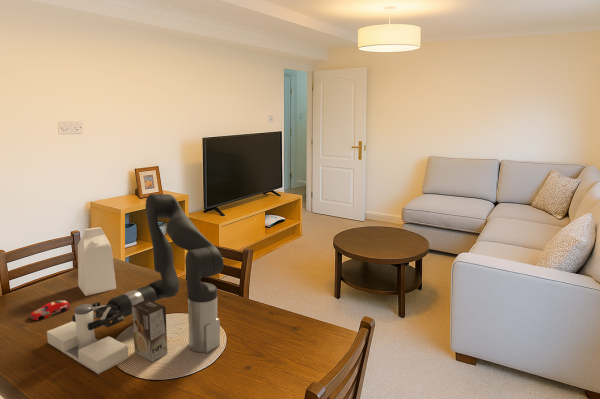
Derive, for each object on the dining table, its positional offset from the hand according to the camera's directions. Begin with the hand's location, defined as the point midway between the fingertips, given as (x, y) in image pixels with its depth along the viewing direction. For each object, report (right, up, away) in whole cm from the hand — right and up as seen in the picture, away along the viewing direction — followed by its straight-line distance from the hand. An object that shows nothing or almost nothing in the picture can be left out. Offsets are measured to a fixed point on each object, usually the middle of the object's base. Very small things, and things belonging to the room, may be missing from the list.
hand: (80, 323), depth 132 cm
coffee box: (+21, -10, +3) cm, 23 cm away
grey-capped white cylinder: (0, -9, +3) cm, 9 cm away
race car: (-24, -4, +26) cm, 36 cm away
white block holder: (0, -10, +3) cm, 10 cm away
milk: (-18, +1, +49) cm, 52 cm away
